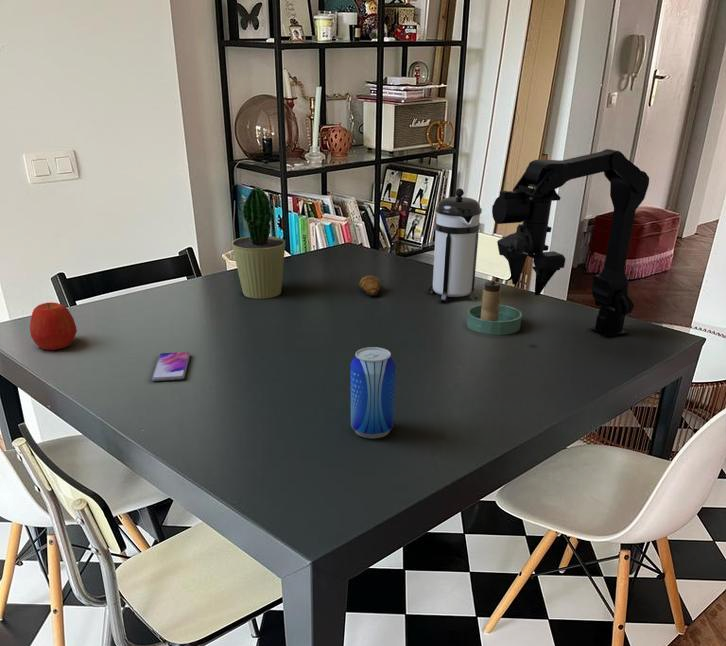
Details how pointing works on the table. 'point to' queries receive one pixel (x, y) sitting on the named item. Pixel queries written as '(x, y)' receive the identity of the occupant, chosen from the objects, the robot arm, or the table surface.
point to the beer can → (372, 392)
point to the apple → (52, 326)
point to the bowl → (505, 325)
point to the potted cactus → (259, 250)
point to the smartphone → (171, 366)
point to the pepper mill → (491, 301)
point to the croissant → (370, 285)
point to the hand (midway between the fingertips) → (525, 289)
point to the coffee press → (456, 246)
